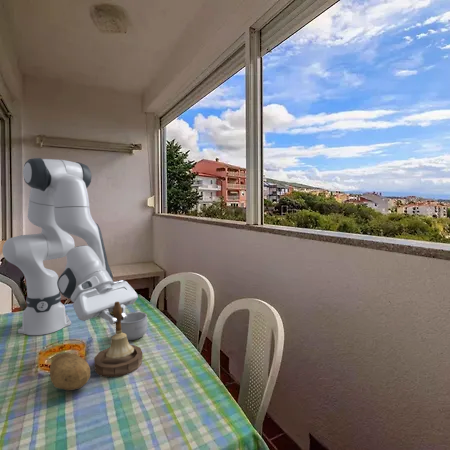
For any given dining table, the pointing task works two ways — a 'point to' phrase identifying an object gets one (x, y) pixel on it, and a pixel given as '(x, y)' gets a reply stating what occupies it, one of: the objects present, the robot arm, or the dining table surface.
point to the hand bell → (119, 338)
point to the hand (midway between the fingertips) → (119, 321)
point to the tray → (117, 363)
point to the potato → (69, 371)
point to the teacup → (134, 325)
